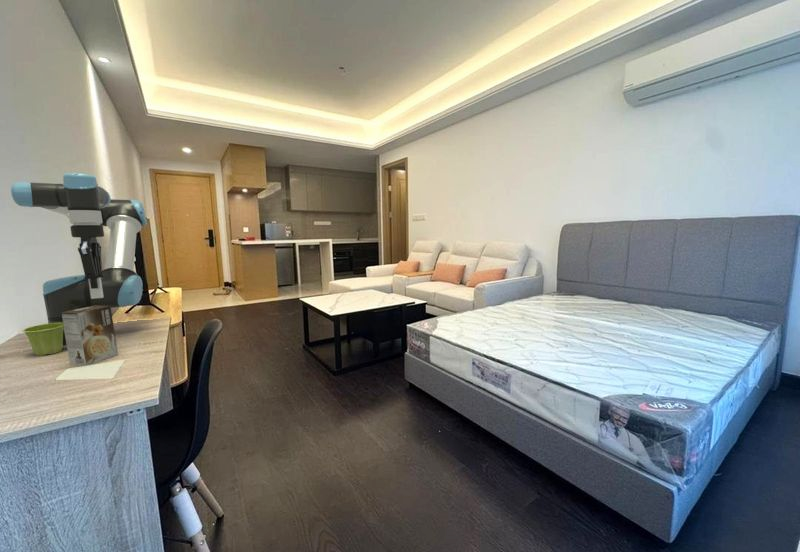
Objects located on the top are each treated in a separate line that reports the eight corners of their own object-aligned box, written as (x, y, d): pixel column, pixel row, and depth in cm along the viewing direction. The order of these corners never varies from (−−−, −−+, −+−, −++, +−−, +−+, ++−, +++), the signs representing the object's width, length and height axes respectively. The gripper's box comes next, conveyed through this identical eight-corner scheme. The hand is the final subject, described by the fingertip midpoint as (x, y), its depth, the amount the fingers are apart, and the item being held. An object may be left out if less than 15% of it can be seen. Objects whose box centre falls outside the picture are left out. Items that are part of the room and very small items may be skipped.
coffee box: (102, 353, 104) (95, 304, 102) (118, 354, 103) (111, 305, 101) (68, 365, 96) (60, 311, 93) (86, 366, 94) (77, 312, 92)
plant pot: (77, 347, 110) (73, 322, 109) (47, 358, 101) (42, 331, 100) (50, 347, 111) (46, 322, 109) (18, 358, 101) (13, 331, 100)
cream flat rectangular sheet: (67, 370, 92) (66, 368, 92) (125, 360, 98) (125, 359, 98) (37, 398, 77) (36, 396, 76) (109, 385, 83) (109, 383, 83)
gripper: (78, 225, 107) (88, 295, 110) (62, 224, 95) (74, 303, 99) (108, 225, 110) (117, 293, 114) (95, 224, 99) (106, 300, 102)
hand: (97, 297), depth 106 cm, fingers closed
